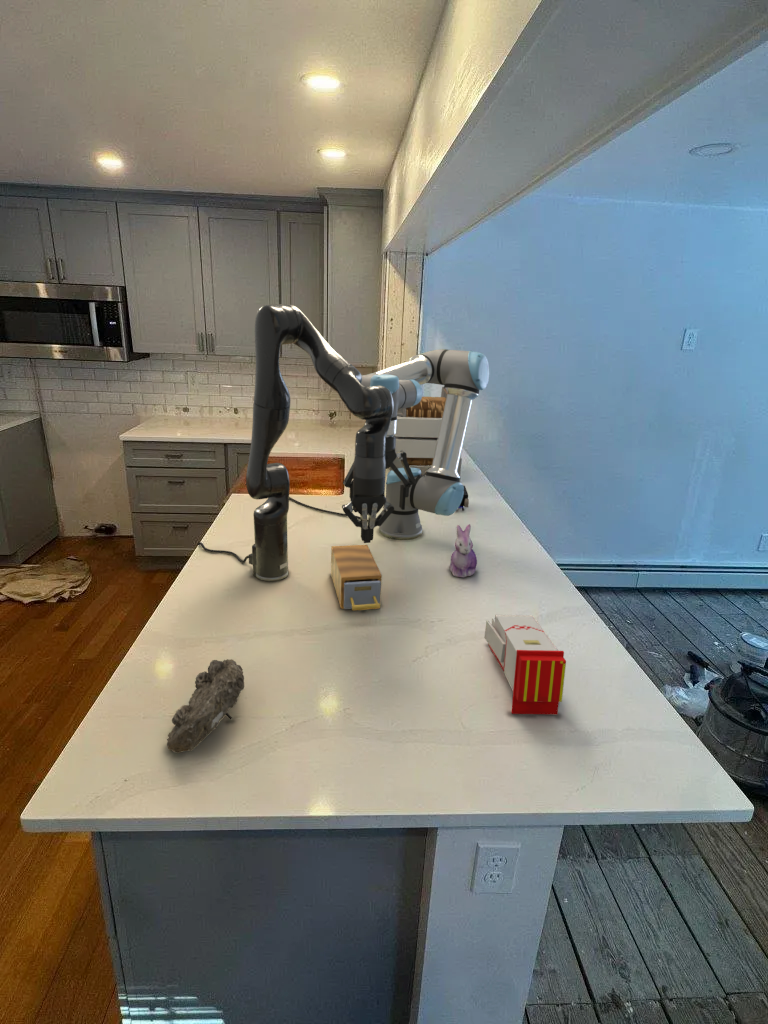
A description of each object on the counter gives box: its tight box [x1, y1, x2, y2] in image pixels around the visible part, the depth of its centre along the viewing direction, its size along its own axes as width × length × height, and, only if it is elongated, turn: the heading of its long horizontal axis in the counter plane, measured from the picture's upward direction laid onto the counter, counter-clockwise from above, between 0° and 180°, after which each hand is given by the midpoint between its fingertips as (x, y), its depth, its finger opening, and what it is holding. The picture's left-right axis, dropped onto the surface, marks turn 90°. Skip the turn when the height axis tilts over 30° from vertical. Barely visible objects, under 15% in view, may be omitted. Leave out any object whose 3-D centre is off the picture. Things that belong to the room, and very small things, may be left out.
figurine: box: [449, 523, 478, 578], centre depth 170 cm, size 9×10×15 cm
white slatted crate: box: [389, 386, 463, 477], centre depth 268 cm, size 34×33×41 cm
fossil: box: [166, 658, 245, 754], centre depth 106 cm, size 22×10×15 cm
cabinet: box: [330, 544, 383, 610], centre depth 158 cm, size 20×11×9 cm, turn 12°
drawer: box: [343, 579, 382, 611], centre depth 153 cm, size 25×9×7 cm, turn 12°
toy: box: [484, 614, 567, 716], centre depth 124 cm, size 12×13×30 cm
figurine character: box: [455, 485, 470, 512], centre depth 229 cm, size 7×8×15 cm
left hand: (366, 541), depth 138 cm, fingers closed
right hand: (378, 509), depth 158 cm, fingers open, 13 cm apart
